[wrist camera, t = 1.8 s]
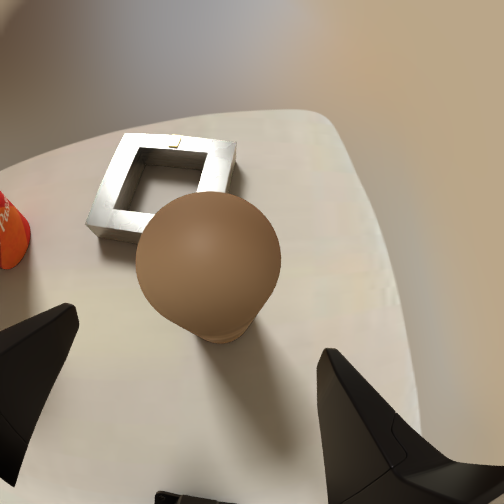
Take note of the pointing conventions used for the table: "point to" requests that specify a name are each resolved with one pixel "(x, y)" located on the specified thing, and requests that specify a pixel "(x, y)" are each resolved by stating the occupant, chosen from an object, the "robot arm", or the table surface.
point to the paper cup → (12, 234)
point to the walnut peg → (209, 264)
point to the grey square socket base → (162, 154)
